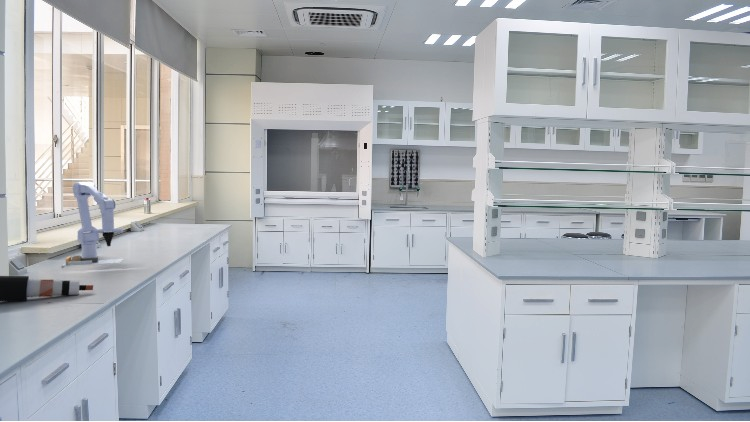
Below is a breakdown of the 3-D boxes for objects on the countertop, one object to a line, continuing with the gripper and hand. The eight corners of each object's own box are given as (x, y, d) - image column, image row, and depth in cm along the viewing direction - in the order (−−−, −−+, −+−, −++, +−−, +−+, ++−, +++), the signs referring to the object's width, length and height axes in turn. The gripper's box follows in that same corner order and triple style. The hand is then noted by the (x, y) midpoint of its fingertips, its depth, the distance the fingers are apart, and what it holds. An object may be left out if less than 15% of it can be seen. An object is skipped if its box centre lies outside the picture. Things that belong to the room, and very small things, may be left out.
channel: (66, 263, 286) (66, 255, 286) (123, 261, 295) (122, 253, 294) (61, 267, 276) (61, 259, 275) (120, 264, 284) (119, 256, 284)
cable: (91, 304, 224) (93, 286, 220) (-5, 306, 207) (-5, 286, 203) (92, 289, 232) (94, 271, 227) (-1, 290, 215) (-1, 270, 210)
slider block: (73, 261, 284) (73, 255, 283) (81, 261, 285) (81, 255, 285) (72, 263, 280) (71, 256, 280) (80, 262, 282) (80, 256, 281)
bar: (81, 262, 284) (81, 257, 284) (98, 261, 287) (97, 257, 287) (80, 263, 282) (80, 258, 282) (97, 262, 285) (97, 258, 284)
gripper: (91, 222, 279) (92, 247, 281) (121, 221, 284) (122, 246, 285) (94, 221, 286) (95, 245, 287) (123, 220, 291) (124, 244, 292)
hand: (108, 246), depth 287 cm, fingers closed
